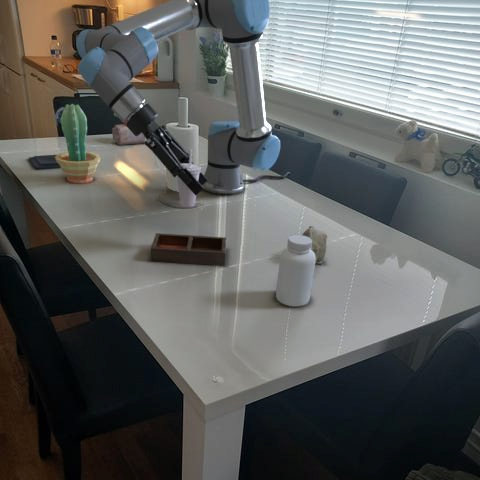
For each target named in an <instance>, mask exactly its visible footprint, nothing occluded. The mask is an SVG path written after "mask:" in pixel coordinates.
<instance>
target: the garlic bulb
mask: <svg viewBox="0 0 480 480" xmlns="http://www.w3.org/2000/svg"><path fill="white" fill-rule="evenodd" d="M301 235H303V236H307V237H309V238H310V239H311V240H312V247H311V250H312V251H313V252H314V253H315V256H316V261H315V264H323V260H324V259H325V257H326V254H327V253H326V252H327V238H328V235H327V233H326V232H324V231H323V230H322V229H320V228H317V227H315V226H314V225H313V226H312V225H309V227H308V228H307V229H306V230H305V231H304V232H303V233H302V234H301Z"/></svg>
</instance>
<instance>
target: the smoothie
mask: <svg viewBox="0 0 480 480" xmlns="http://www.w3.org/2000/svg"><path fill="white" fill-rule="evenodd" d="M188 153H189V163H183V164H182V166H183V167H184V169H185V168H187V169H188V170H189V172H190V173H191V174H192V175H193V176H194V177H195V178H196V179H197V181H198V179H199V173H200V172H202V167H201V166H200V165H198V164H196V163H194V164H191V162H193V161H192V159H193V156H192V153H193V149H192V148H189V152H188ZM176 180H177V187H178V195H179V196H178V197H179V205H180V206H182V207H185V208H191V207H195V205H196V199H197V195H196V196H195V194H194V193H193V192H192V191H191V190H190V189H189V188H188V187H187V186H186V184H185V183H184V182H183V181H182V180H181V179H180V178H179V177H178V176H176Z"/></svg>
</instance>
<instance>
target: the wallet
mask: <svg viewBox="0 0 480 480" xmlns="http://www.w3.org/2000/svg"><path fill="white" fill-rule="evenodd" d="M56 155H57V154H44V155H34V156H28V160H29V162H30V163H31V165H32V167H33V168H34V170H51V169H61V167H60V165H59V164H58V163H57V161H56V159H55V156H56Z"/></svg>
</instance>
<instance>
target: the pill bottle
mask: <svg viewBox="0 0 480 480" xmlns="http://www.w3.org/2000/svg"><path fill="white" fill-rule="evenodd" d="M286 245H287V246H286V247H285V248H283V249H282V250H281V252H280V255H279V262H278V263H279V264H278V272H277V282H276V291H275V298H276V300H277V301H278V302H279V303H280V304H282V305H285V306H288V307H303V306H306V305H307V304H308V303H309V301H310V299H311V293H312V286H313V280H314V274H315V267H316V263H315V261H316V256H315V253H314V252H313V251H312V250H311V247H312V240H311V239H310V238H309V237H307V236H303V235H302V234H294V235H290V236H289V237H288V238H287V244H286Z"/></svg>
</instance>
